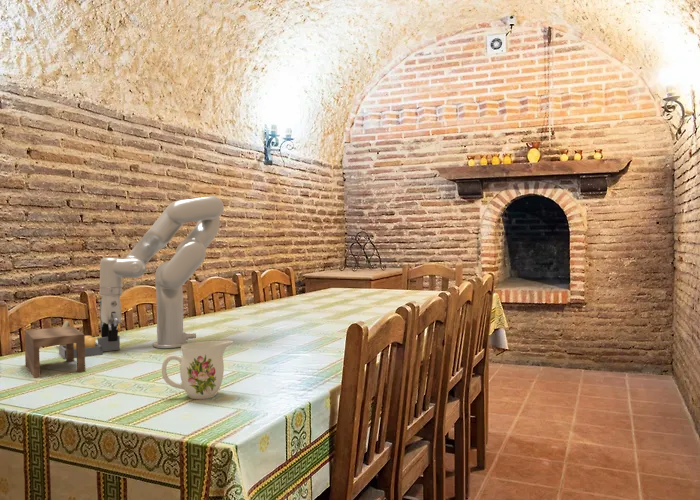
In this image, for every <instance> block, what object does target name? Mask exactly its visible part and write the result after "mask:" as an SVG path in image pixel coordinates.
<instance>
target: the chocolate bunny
mask: <svg viewBox="0 0 700 500" xmlns="http://www.w3.org/2000/svg"><path fill="white" fill-rule="evenodd" d="M70 326H71V323H70V322H69V320H65V321H64V322H63V324H62V326H61V327H70ZM61 345H66V344H61ZM61 345H59V346H61Z"/></svg>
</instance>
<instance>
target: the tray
mask: <svg viewBox="0 0 700 500" xmlns="http://www.w3.org/2000/svg"><path fill="white" fill-rule="evenodd" d="M120 339H121V338H120V335H118V340H117V341H111V342H109V341H108V337H100V336H99V337H97V342H96V337H93V335H85V358H86V357H95V356H96V357H97V356H102V355H103V352H110V351H117V350H118V351H120V350H121V346H120V345H121V344H120V343H121V341H120ZM58 354H59V355H60V356H61V357H62V358H63V359H64V360H66V345H61V346H60V345H58ZM74 359H77V350H76V343H74Z"/></svg>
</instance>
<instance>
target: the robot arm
mask: <svg viewBox="0 0 700 500" xmlns="http://www.w3.org/2000/svg"><path fill="white" fill-rule="evenodd" d="M224 206H225V205H224V202H223V201H222V199H220V197H218V196H215V195H209V196H203V197H201V196H200V197H196V198H195V197H194V198H188V199H178V200H175V201H174V200H173V202H170V203H169V204H168V206H167V207H166V208H165V209H164V210H163V212H162V213H161V214H160V215H159V216H158V218H157V219H156V220H155V221H154V223H153V224H152V225H151V226H150V228H149V229H148V230H147V231H146V233H144V234H143V236H142V237H141V238H140V240H139V241H138V242H137V243H136V244H135V245H134V246H133V248H132V249H131V251H130V252H129V253H128V254H127V255H126V256H125V258H120V257H103V258H101V259H100V263H99V292H98V293H99V295H98V296H99V297H101V299H102V305H101V308H100V321H101V320H102V326H103V327H102V333H101V332H100V335H101V337H108V341H109V342H111V341H117V340H118V336H119V327H118V326H119V325H120V324H121V321H122V313H121V312H122V311H121V310H122V307H121V306H122V305H121V304H122V303H121V297H122V296H123V294H122V293H123V278H129V279H139V278H141V277H143V275H144V274H145V272H146V269H147V267H146V266H147V264H148V262H149V261H150V260H151V259H152V258H153V257H155V255H156V254H158V252H159V251H161V250H162V249H163V248H165V247H166V246H167V245H168V244H169V242H171V240H172V239H173V238H174V237H175V235H176V234H177V232H179V230H180V229H181V228H182V226H184V224H186V223H193V222H196V225H195V226H194V227H193V228H192V230H191V231H190V232H189V233H188V234H187V236H186V237H185V238H184V239H183V240H181V242H180V243H178V245H177V246H176V249H175V254H174V255H173V256H172V257H171V259H170V260H169V261H164V262H162V263H161V264H159V265H158V266H157V268H156V269H155V274H154V282H155V290H156V291H155V293H156V341H154V342H152V347H153V348H156V349H157V348H158V349H174V348H175V349H177V348H181V346H182V345H184V344H188V343H189V341H188V340H189V339H197V333H186V332H184V296H183V295H184V294H183V293H184V292H183V286H184V284H186V283H187V282H188V281H189V279H190V278H191V276H193V274H194V273H195V272H196V271H197V270H198V269H199V267H201V265H202V264H203V262H204V261H205V259H206V255H207V250H206V249H207V248H208V247H209V246H210V245H211V243H212V242H213V240H215V238H216V237H217V235H218V233H219V230H220V223H221V221H220V220H221V219H220V218H221V217H220V216H222V215H223V213H224V209H225V207H224ZM117 323H118V324H117Z"/></svg>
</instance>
